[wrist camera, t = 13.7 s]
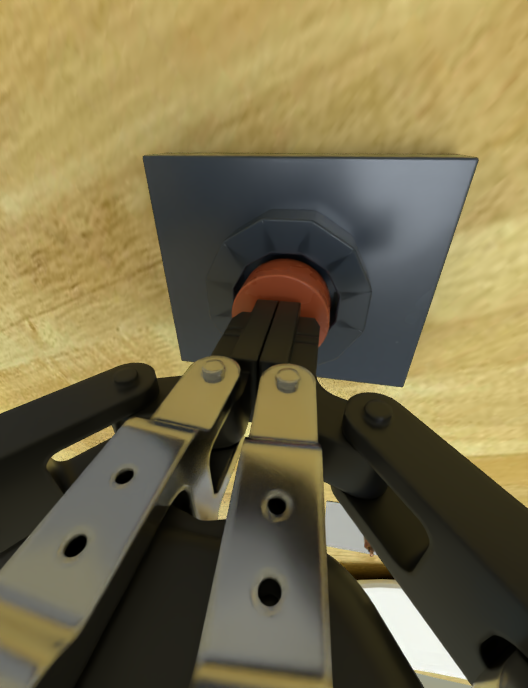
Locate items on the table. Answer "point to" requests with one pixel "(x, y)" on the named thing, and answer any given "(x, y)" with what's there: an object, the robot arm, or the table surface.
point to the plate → (410, 628)
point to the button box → (311, 243)
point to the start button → (287, 290)
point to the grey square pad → (344, 531)
